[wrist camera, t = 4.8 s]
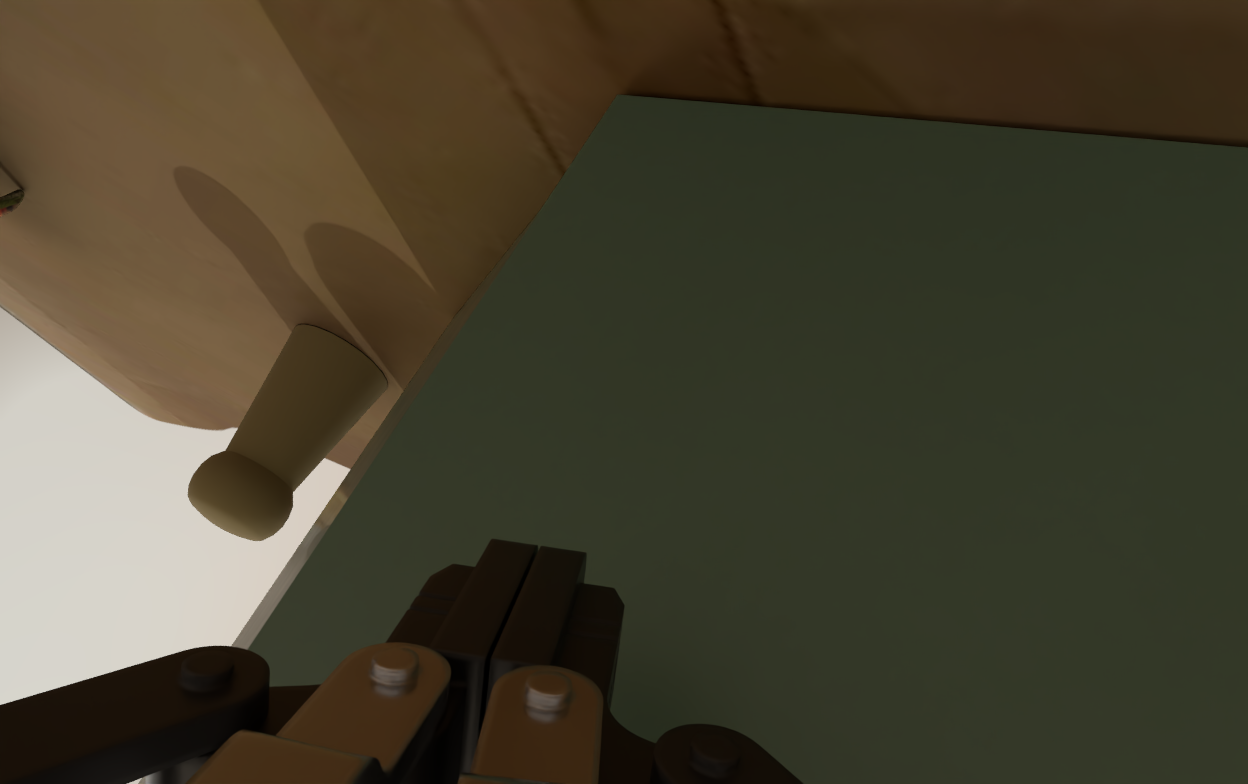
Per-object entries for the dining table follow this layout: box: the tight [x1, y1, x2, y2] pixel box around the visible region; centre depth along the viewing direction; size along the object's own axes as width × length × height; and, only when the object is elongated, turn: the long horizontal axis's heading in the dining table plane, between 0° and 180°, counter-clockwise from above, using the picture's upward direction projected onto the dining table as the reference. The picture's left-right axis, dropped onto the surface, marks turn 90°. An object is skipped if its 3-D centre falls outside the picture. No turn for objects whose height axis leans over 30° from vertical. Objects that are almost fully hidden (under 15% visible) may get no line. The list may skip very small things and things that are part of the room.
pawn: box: [188, 324, 387, 541], centre depth 51 cm, size 6×6×11 cm
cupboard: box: [139, 212, 539, 784], centre depth 32 cm, size 18×26×24 cm
